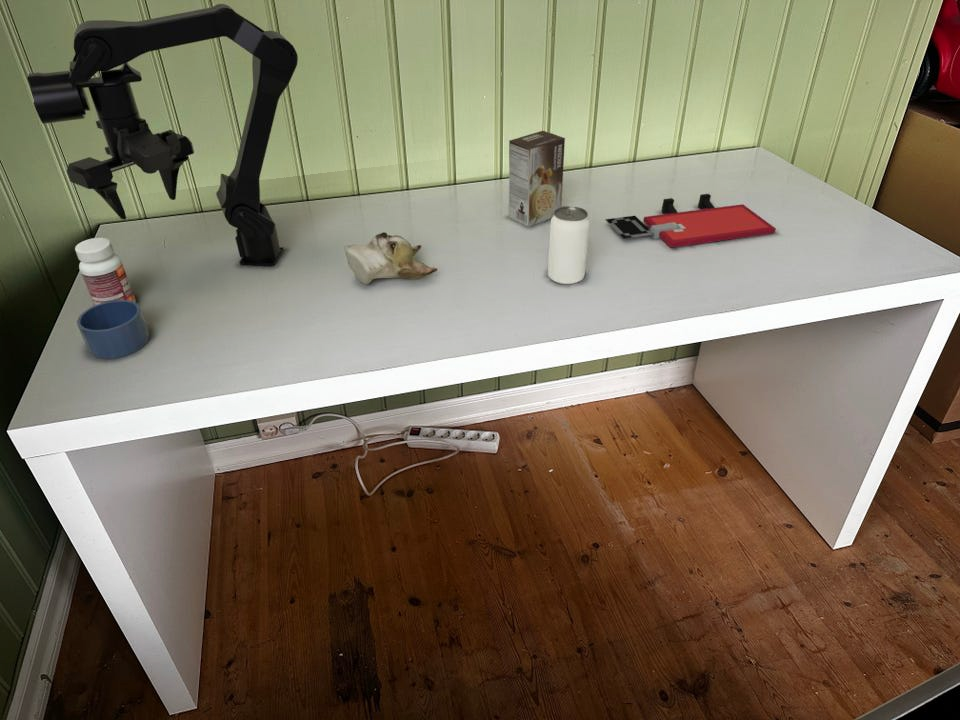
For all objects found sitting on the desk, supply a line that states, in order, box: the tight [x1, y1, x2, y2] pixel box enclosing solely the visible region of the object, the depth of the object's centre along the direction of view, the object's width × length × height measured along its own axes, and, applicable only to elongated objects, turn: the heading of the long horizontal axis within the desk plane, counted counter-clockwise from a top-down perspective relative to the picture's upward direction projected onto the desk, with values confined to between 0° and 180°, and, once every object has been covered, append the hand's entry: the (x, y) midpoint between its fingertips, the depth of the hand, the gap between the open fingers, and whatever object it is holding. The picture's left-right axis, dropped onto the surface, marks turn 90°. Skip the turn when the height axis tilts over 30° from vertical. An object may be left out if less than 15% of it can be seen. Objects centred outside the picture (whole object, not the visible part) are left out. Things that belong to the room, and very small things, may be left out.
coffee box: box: [508, 130, 566, 228], centre depth 135 cm, size 9×6×16 cm
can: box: [547, 205, 590, 286], centre depth 117 cm, size 6×6×12 cm
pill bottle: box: [74, 237, 136, 306], centre depth 111 cm, size 6×6×11 cm
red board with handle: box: [604, 193, 777, 248], centre depth 135 cm, size 30×3×15 cm
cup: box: [76, 300, 150, 360], centre depth 104 cm, size 9×9×5 cm
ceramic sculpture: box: [344, 231, 438, 286], centre depth 119 cm, size 11×9×15 cm
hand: (148, 208), depth 114 cm, fingers open, 9 cm apart
